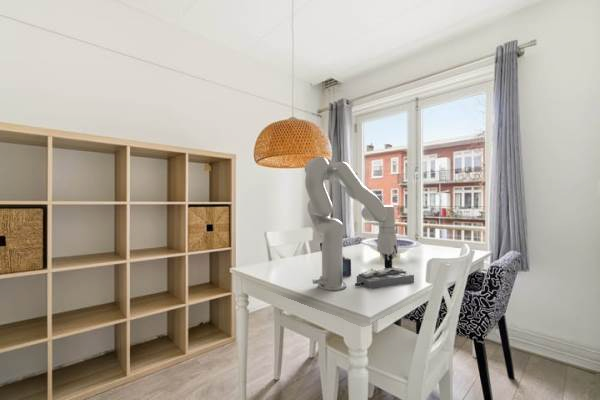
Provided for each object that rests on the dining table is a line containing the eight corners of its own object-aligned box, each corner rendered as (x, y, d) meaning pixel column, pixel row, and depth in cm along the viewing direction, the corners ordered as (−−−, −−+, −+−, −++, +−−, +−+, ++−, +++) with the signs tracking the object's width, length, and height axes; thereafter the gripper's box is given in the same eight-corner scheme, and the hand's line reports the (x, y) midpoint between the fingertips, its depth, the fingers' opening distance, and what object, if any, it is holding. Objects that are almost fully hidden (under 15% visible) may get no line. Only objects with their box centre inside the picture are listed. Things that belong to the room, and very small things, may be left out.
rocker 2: (380, 274, 131) (379, 271, 131) (375, 272, 135) (375, 269, 134) (390, 271, 134) (389, 268, 133) (385, 269, 137) (384, 266, 137)
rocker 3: (393, 269, 134) (393, 267, 134) (388, 268, 138) (388, 265, 138) (402, 271, 137) (403, 269, 137) (397, 270, 140) (397, 267, 140)
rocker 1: (366, 276, 128) (365, 274, 128) (361, 274, 131) (361, 272, 131) (376, 272, 130) (376, 269, 130) (371, 270, 134) (371, 267, 134)
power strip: (362, 290, 121) (362, 280, 121) (349, 284, 130) (349, 275, 130) (414, 281, 133) (413, 273, 133) (399, 276, 142) (398, 268, 142)
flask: (333, 275, 146) (333, 255, 146) (334, 273, 148) (334, 254, 148) (350, 276, 143) (350, 256, 143) (351, 275, 145) (351, 255, 145)
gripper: (371, 229, 141) (372, 265, 141) (391, 232, 127) (393, 272, 127) (382, 228, 143) (384, 263, 144) (404, 231, 130) (405, 270, 130)
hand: (388, 267), depth 135 cm, fingers closed
